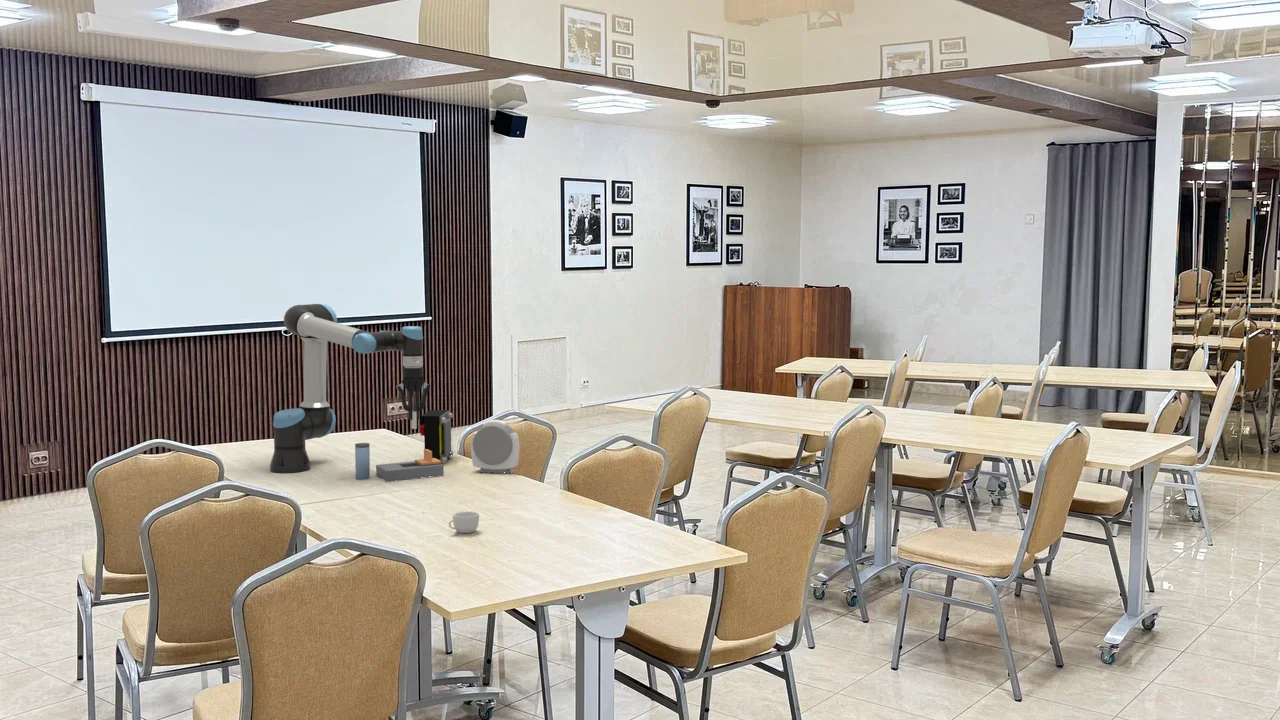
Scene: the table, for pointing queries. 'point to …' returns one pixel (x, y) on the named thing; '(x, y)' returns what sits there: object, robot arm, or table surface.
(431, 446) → the electrical component
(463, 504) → the table surface
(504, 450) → the alarm clock
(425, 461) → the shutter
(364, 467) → the blue canister
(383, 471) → the socket block
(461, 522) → the teacup
